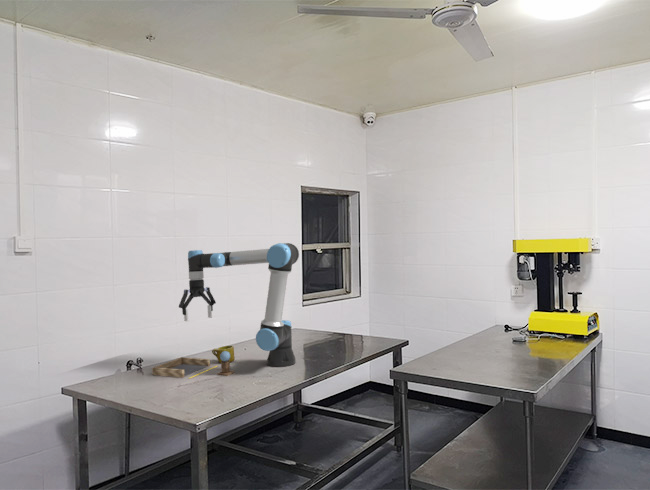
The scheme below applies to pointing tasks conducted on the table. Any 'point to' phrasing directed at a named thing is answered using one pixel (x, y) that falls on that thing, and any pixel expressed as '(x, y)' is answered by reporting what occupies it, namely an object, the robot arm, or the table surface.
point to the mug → (224, 348)
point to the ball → (225, 356)
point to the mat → (189, 368)
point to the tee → (225, 368)
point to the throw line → (203, 372)
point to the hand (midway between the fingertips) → (198, 319)
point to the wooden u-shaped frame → (165, 368)
